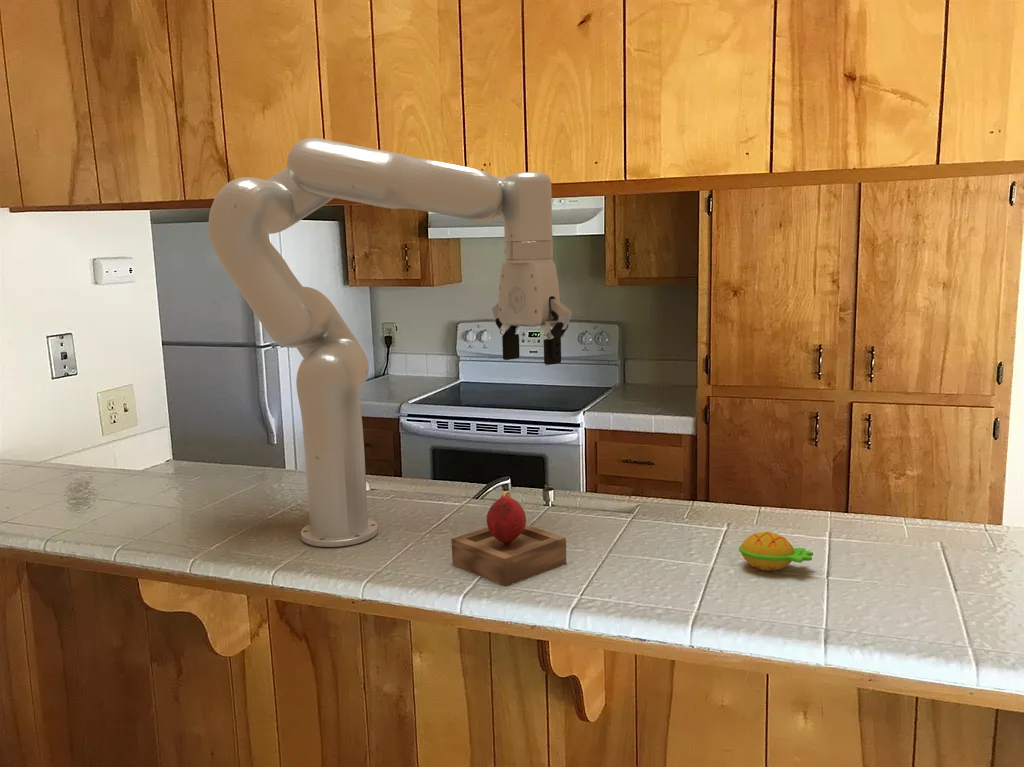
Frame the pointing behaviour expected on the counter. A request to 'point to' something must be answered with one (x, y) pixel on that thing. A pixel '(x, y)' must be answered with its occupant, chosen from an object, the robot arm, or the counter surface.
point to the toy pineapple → (771, 551)
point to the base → (509, 554)
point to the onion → (506, 519)
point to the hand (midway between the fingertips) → (531, 361)
